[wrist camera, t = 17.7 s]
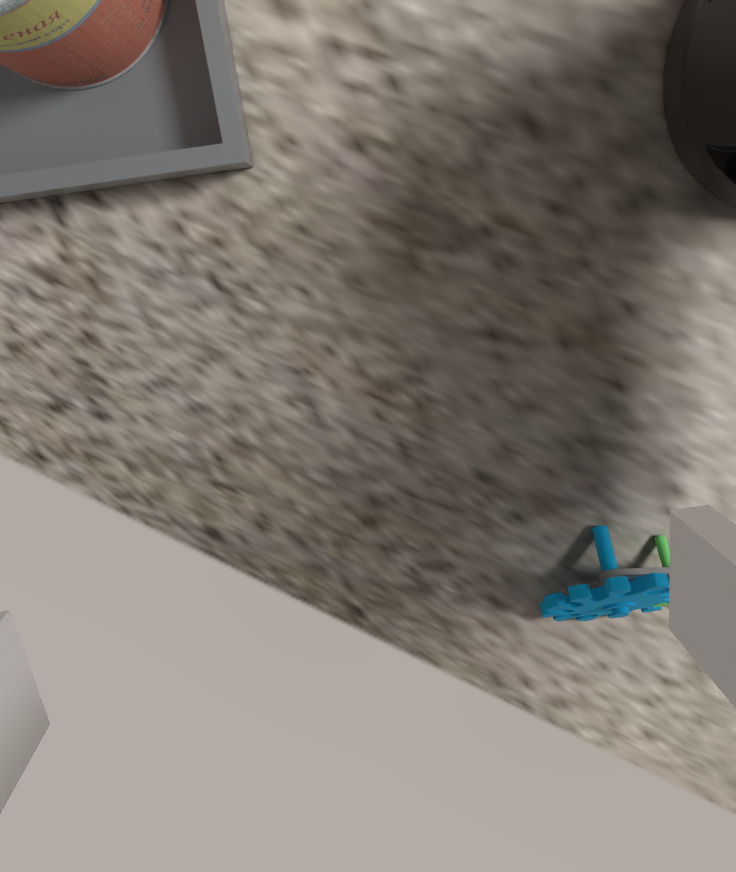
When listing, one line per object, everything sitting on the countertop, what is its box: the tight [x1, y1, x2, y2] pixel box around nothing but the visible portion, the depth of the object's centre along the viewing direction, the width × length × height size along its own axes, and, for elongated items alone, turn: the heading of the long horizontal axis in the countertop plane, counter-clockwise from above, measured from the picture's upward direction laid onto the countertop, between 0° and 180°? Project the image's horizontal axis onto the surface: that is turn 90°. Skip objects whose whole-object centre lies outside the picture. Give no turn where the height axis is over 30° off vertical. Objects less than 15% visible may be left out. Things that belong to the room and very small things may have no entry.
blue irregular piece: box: [540, 526, 670, 621], centre depth 44 cm, size 11×6×10 cm
